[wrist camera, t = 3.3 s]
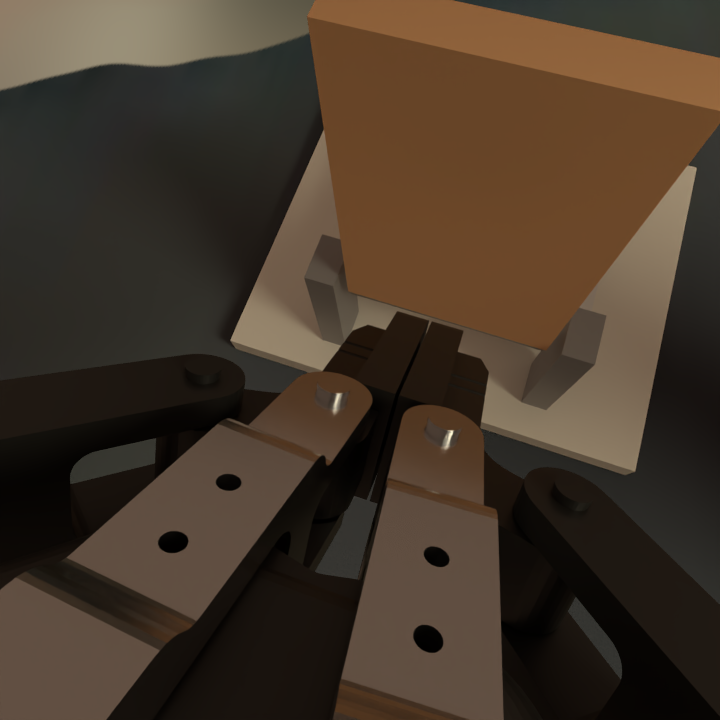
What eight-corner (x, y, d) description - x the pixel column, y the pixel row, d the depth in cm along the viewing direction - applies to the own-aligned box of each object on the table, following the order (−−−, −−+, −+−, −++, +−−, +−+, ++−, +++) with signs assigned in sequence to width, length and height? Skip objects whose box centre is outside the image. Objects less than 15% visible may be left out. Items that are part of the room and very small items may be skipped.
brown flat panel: (549, 328, 23) (737, 61, 11) (542, 355, 23) (728, 112, 10) (358, 272, 24) (327, -27, 12) (349, 297, 24) (307, 16, 11)
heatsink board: (685, 181, 32) (777, 65, 25) (624, 475, 27) (715, 443, 20) (346, 97, 35) (334, -29, 28) (236, 348, 30) (185, 279, 23)
